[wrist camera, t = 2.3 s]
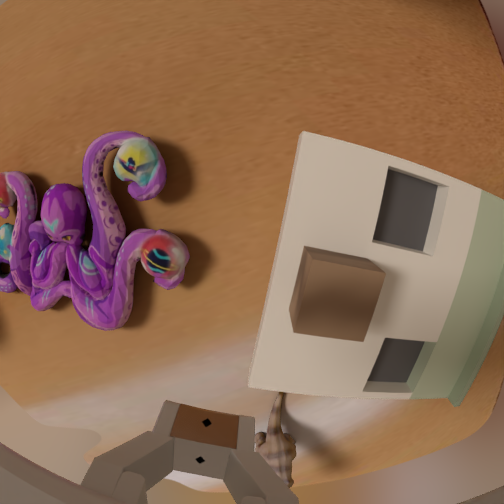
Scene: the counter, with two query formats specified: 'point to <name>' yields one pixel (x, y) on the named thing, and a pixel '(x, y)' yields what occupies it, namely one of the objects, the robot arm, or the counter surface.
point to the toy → (277, 445)
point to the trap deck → (386, 277)
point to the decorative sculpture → (103, 240)
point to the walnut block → (334, 294)
